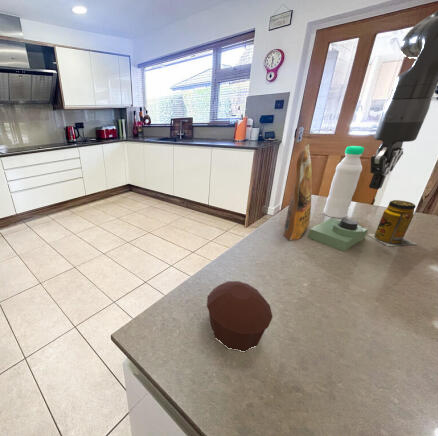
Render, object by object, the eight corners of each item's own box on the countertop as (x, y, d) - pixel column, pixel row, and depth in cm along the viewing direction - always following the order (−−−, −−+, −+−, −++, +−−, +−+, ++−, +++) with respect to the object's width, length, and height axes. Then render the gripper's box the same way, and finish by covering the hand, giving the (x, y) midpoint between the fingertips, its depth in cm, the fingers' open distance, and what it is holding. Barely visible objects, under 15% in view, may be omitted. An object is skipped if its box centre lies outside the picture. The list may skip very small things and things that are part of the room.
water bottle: (351, 218, 85) (375, 147, 74) (331, 219, 85) (353, 148, 75) (337, 210, 91) (358, 144, 81) (318, 211, 92) (337, 145, 81)
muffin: (271, 366, 39) (282, 324, 35) (203, 352, 42) (206, 312, 38) (260, 312, 49) (268, 274, 45) (207, 304, 52) (209, 267, 48)
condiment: (366, 234, 75) (379, 199, 70) (393, 233, 74) (409, 197, 69) (387, 246, 68) (404, 208, 63) (417, 245, 68) (436, 207, 63)
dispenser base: (328, 226, 81) (332, 213, 79) (366, 238, 72) (372, 224, 70) (307, 237, 75) (311, 223, 73) (345, 252, 67) (351, 237, 65)
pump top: (343, 223, 73) (345, 217, 72) (358, 228, 70) (361, 221, 69) (336, 226, 71) (338, 220, 70) (352, 231, 68) (354, 225, 67)
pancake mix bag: (273, 238, 76) (290, 150, 64) (290, 218, 88) (308, 140, 76) (296, 245, 71) (320, 151, 59) (311, 223, 83) (333, 141, 72)
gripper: (413, 121, 51) (382, 197, 58) (432, 118, 56) (402, 187, 64) (369, 121, 57) (346, 189, 64) (391, 118, 62) (368, 180, 70)
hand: (374, 188), depth 64 cm, fingers closed
